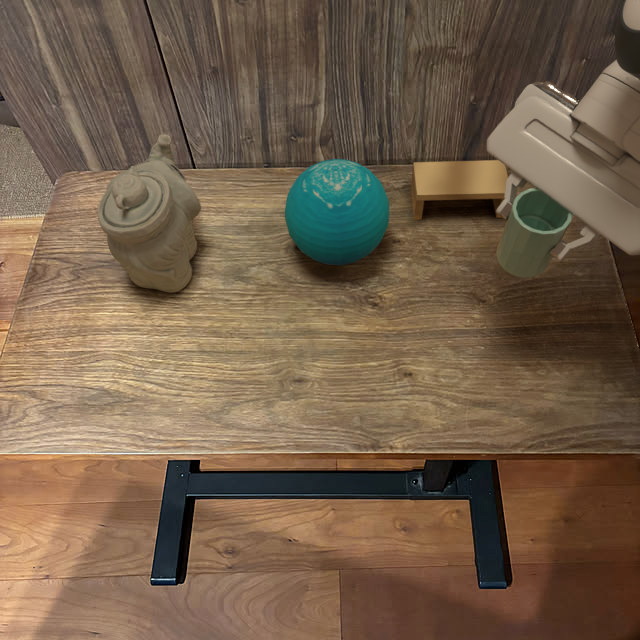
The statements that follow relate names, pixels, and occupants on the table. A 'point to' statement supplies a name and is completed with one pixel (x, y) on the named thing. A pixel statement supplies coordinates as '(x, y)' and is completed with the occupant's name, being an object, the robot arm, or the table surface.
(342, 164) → the decorative orb
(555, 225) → the sage green tumbler
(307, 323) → the table surface
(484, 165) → the shelf
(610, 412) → the table surface
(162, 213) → the teapot
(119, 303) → the table surface
